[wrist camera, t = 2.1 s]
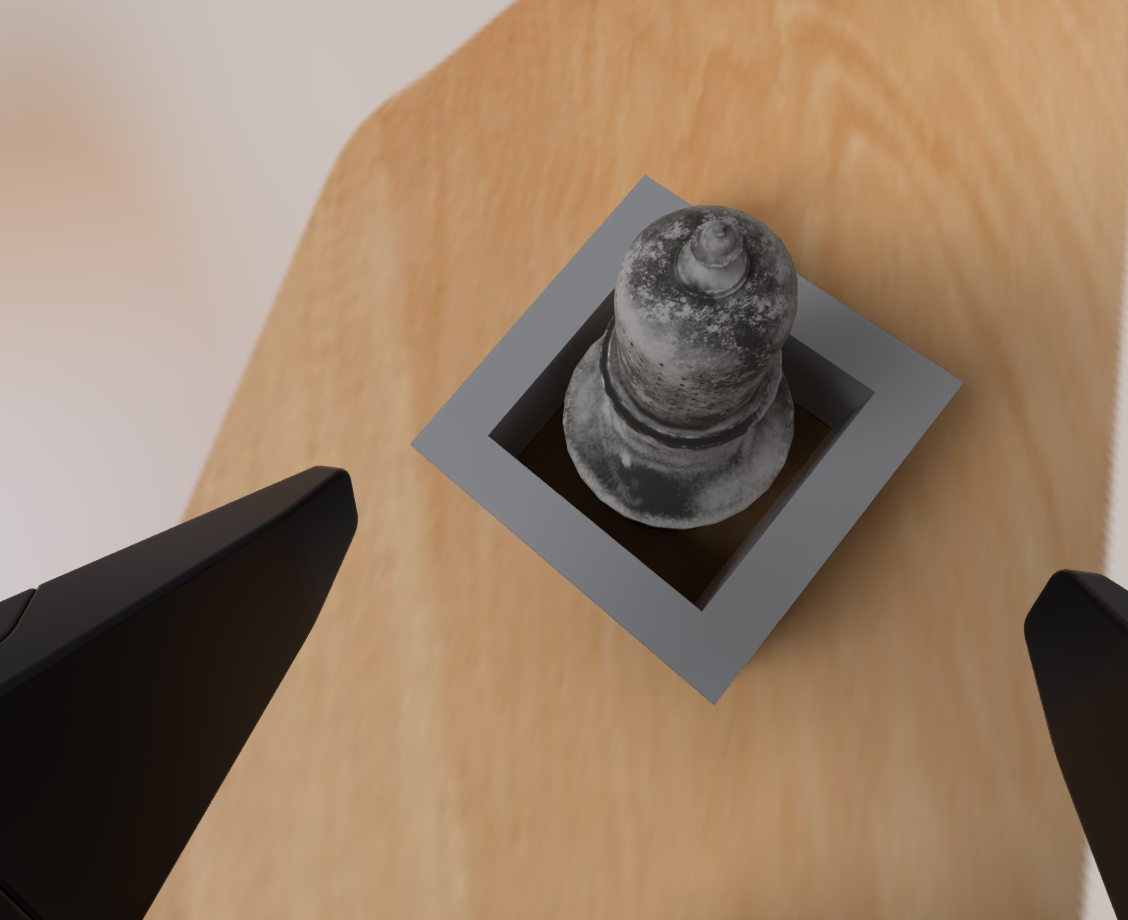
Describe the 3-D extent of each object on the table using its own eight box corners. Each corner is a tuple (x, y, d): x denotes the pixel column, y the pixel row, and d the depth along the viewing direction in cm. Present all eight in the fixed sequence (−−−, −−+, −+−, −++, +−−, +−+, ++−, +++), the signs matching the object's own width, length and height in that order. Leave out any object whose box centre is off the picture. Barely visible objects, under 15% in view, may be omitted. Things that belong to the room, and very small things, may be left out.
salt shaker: (725, 333, 20) (851, -28, 8) (795, 505, 19) (1061, 358, 7) (551, 391, 20) (441, 117, 9) (608, 566, 19) (568, 519, 7)
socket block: (699, 684, 18) (714, 705, 15) (447, 470, 20) (409, 444, 17) (904, 420, 19) (964, 382, 16) (643, 242, 21) (644, 174, 18)
